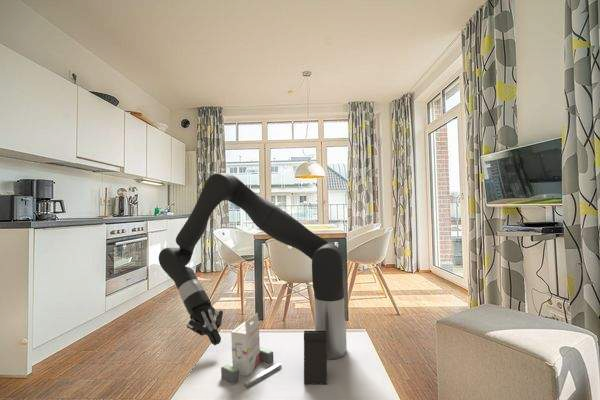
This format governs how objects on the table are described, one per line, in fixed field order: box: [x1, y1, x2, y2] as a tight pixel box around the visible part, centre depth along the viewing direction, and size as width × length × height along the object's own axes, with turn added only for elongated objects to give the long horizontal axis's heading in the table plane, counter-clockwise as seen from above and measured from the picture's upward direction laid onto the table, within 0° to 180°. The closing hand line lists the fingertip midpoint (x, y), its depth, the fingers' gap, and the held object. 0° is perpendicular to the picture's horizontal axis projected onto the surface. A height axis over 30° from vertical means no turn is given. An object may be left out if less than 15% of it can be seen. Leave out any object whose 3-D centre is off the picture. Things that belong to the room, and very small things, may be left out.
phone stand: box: [303, 330, 328, 385], centre depth 91 cm, size 9×6×12 cm, turn 174°
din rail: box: [243, 362, 282, 389], centre depth 91 cm, size 13×1×1 cm, turn 141°
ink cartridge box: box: [230, 312, 261, 376], centre depth 96 cm, size 9×5×15 cm, turn 163°
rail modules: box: [220, 346, 275, 385], centre depth 95 cm, size 15×5×3 cm, turn 141°
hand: (217, 343), depth 103 cm, fingers closed
